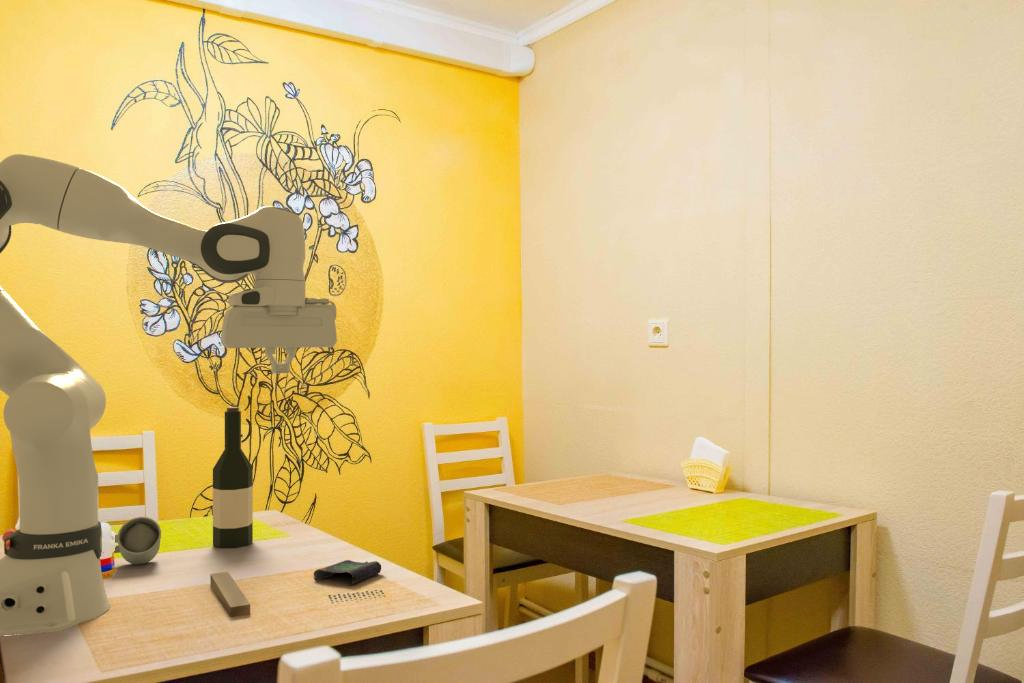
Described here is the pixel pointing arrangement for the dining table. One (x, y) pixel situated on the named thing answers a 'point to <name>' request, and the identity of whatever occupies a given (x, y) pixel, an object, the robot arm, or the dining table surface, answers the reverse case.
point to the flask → (350, 570)
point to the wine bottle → (232, 489)
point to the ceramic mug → (138, 540)
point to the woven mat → (355, 596)
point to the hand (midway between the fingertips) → (280, 373)
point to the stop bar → (229, 594)
